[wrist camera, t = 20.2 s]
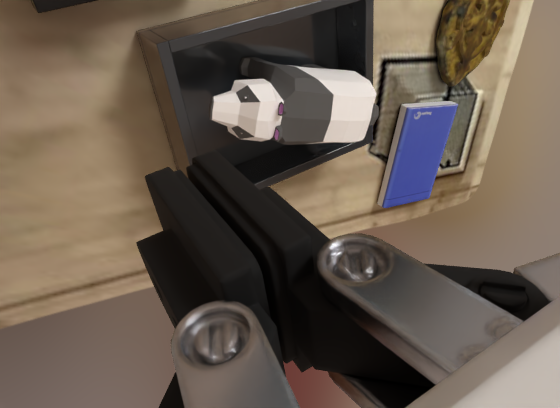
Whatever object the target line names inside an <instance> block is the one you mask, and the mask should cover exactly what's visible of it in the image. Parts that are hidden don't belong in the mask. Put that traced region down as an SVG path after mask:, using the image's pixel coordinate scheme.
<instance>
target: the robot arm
mask: <svg viewBox="0 0 560 408" xmlns="http://www.w3.org/2000/svg"><path fill="white" fill-rule="evenodd" d="M192 164H193V165H190V166H188V167H186V171H187V175H188V178H187V177H186V175H185V174H184V173H183V172H182V171H181V170H177V171H175V172H173V171H172V170H171V168H169V167H167V168H164V169H162V170H159V171H156V172H154V173H151V174H148V175H146V176H145V179H146V182H147V186H148V188H149V191H150V194H151V197H152V200H153V203H154V205H155V208H156V211H157V214H158V217H159V220H160V222H161V225H162V228H163V231H162V232H159V233H157V234H155V235H152V236H150V237H148V238H145V239H143V240H141V241H138V242H136V243H137V246H138V249H139V252H140V254H141V256H142V259H143V261H144V264H145V266H146V269H147V271H148V273H149V276H150V278H151V280H152V283H153V285H154V287H155V289H156V291H157V293H158V295H159V298H160V300H161V302H162V304H163V306H164V308H165V310H166V312H167V314H168V316H169V318H170V320H171V322H172V324H173V326H174V328H175V330H174V333H173V336H172V339H171V353H172V357H173V361H174V365H175V370H176V372H175V374H174V377H173V379H172V381H171V383H170V385H169V387H168V389H167V391H166V393H165V395H164V397H163V400H162V402H161V404H160V406H159V408H300V407H299V405H298V402H297V400H296V398H295V396H294V394H293V392H292V390H291V388H290V386H289V383H288V381H287V379H286V375H285V369H284V364H283V361H284V362H285V363H288V362H290V361H292V360H293V361H294V363H295V364H296V365H297V367H298V368H299V369H300V371H301V372H304V371H305V370H307V369H308V368H310V367H312V366H313V367H314V368H315V369H316V370H323V371H328V373H329V376H330V377H331V379H332V380H333V381H334V383H335V384H336V385H337V386H338V387H339V388H341V389H342V390H343V391H344V392H345V393H346V394H347V395H348V396H349V397H350V398H351V399H352V400H353V401H354V402H355V403H356V404H358V405H359V406H360V407H361V408H560V253H558V254H555V255H552V256H549V257H546V258H543V259H540V260H537V261H534V262H531V263H528V264H525V265H522V266H519V267H516V268H514V272H513V273H511V272H506V271H501V270H493V269H480V268H468V267H457V266H446V265H434V264H423V263H422V262H420V261H418V260H416V259H415V258H413V257H411V256H409V255H407V254H406V253H404V252H402V251H401V250H399V249H397V248H395V247H394V246H392V245H390V244H388V243H386V242H385V241H383V240H381V239H379V238H377V237H374V236H371V235H366V234H346V235H342V236H338V237H336V238H334V239H332V240H330V239H329V238H327V237H326V236H325V235H324V234H323V233H322V232H321V231H319V230H318V229H317V228H316V227H315V226H314V225H313V224H311V223H310V222H309V221H308V220H307V219H306V218H305V217H303V216H302V215H301V214H300V213H299V212H298V211H297V210H295V209H294V208H293V207H292V206H291V205H290V204H289V203H287V202H286V201H285V200H284V199H283V198H282V197H281V196H279V195H278V194H277V193H276V192H275V191H274V190H273V189H271V188H269V187H265V188H262V189H260V190H259V189H258V188H257V187H256V186H255V185H254V184H253V183H252V182H250V181H249V180H248V179H247V178H246V177H245V176H244V175H243V174H242V173H241V172H240V171H238V170H237V169H236V168H235V167H234V166H233V165H232V164H231V163H230V162H229V161H228V160H226V159H225V158H224V157H223V156H222V155H221V154H220V153H219V152H218V151H216V150H212V151H210V152H207V153H204V154H202V155H199V156H196V157H194V158H192Z"/></svg>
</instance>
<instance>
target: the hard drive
mask: <svg viewBox="0 0 560 408" xmlns="http://www.w3.org/2000/svg"><path fill="white" fill-rule="evenodd" d="M457 106H458V104H457V103H454V102H452V101H439V102H425V103H411V104H402V105H401V108H400V112H399V116H398V120H397V125H396V129H395V133H394V137H393V141H392V145H391V149H390V153H389V158H388V162H387V166H386V170H385V174H384V178H383V182H382V186H381V191H380V195H379V199H378V203H377V204H378V205H380V206H381V207H383V208H388V207H393V206H397V205H402V204H406V203H410V202H415V201H419V200H423V199H428V198H429V197H430V194H431V191H432V187H433V184H434V180H435V177H436V174H437V171H438V168H439V164H440V161H441V158H442V155H443V152H444V148H445V145H446V142H447V139H448V136H449V132H450V129H451V126H452V123H453V120H454V116H455V113H456V110H457Z"/></svg>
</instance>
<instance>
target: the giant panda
mask: <svg viewBox="0 0 560 408" xmlns="http://www.w3.org/2000/svg"><path fill="white" fill-rule="evenodd" d="M239 71H240V74H242V75H245V76H248V77H252V78H255V79H248V80H235V81H234V84H233V86H232V89H231V91H228V92H225V93H222V94H219V95H216V96H214V97H213V98H212V99H211V102H210V104H209V107H208V111H209V119H210V120H213V121H215V122H218V123H220V124H223V125H225V126H227V128H228V132H230V133H231V134H233V135H234V136H236V137H237V138H239V139H243V140H252V141H265V140H270V139H272V140H274V141H276V142H279V143H281V144H286V145H296V144H313V143H333V142H336V143H352V142H357V141H361V140H363V139H364V137H365V135H366V132H367V129H368V126H370V125H372V124H374V123H375V121H376V119H377V118H378V112H379V107H378V106H377V105H376V104H375V103H374V101H375V97H376V92H375V90H374V88H373V86H372V84H371V82H370V81H369V80H367V79H366V78H364V77H363V76H361V75H360V74H358V73H357V72H355V71H348V70H339V69H328V68H324V67H321V66H318V65H315V64H305V65H302V66H301V67H299V66H291V65H282V64H275V63H272V62H268V61H265V60H262V59H260V58H257V57H242V58H241V61H240V63H239Z"/></svg>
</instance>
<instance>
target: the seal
mask: <svg viewBox="0 0 560 408" xmlns="http://www.w3.org/2000/svg"><path fill="white" fill-rule="evenodd" d="M509 2H510V0H449V1H448V3H447V5H446V6H445V8H444V10H443V13H442V18H441V22H440V26H439V29H438V32H437V39H436V47H437V55H438V68H439V71H440V74H441V78H442V80H443V82H444V83H445V84H447V85H448V86H455V85H456V84H458V83H459V82H460V81H461V80H462V79H463V78H464V77H466V76H467V75H468V74H469V73H470V72H471V71H473V70H474V69H475V68H476V67H477V66H478V65H479V63H480V62H481V61H482V60H483V59H484V57H486V56H487V55H488V54H489V52H490V49H491V47H492V44H493V42H494V40H495V38H496V36H497V34H498V32H499V30H500V28H501V27H502V25H503V23H504V17H505V13H506V10H507V8H508V5H509Z"/></svg>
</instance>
